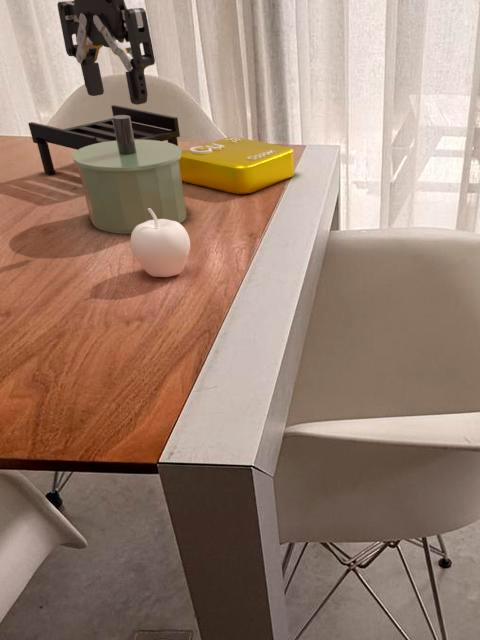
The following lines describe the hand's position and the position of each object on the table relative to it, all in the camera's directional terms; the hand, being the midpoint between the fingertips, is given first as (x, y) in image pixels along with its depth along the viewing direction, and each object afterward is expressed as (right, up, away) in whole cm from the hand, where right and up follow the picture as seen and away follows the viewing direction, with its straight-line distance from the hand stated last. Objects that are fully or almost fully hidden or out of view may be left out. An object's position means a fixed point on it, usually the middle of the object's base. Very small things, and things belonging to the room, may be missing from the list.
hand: (117, 99), depth 91 cm
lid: (0, -5, +5) cm, 7 cm away
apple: (+8, -25, -5) cm, 27 cm away
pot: (0, -12, +10) cm, 16 cm away
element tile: (+11, +1, +26) cm, 29 cm away
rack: (-11, +3, +28) cm, 30 cm away
